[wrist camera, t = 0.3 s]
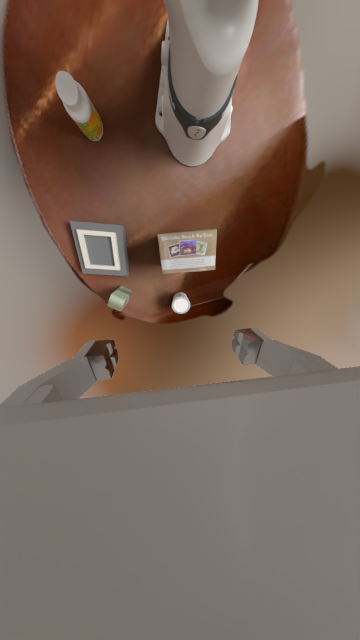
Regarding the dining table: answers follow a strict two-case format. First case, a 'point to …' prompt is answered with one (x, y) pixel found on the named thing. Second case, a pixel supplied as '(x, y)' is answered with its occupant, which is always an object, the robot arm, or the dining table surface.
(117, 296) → the green block
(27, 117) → the dining table surface
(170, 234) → the tea box
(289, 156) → the dining table surface
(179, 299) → the white cup
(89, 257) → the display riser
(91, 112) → the supplement bottle
